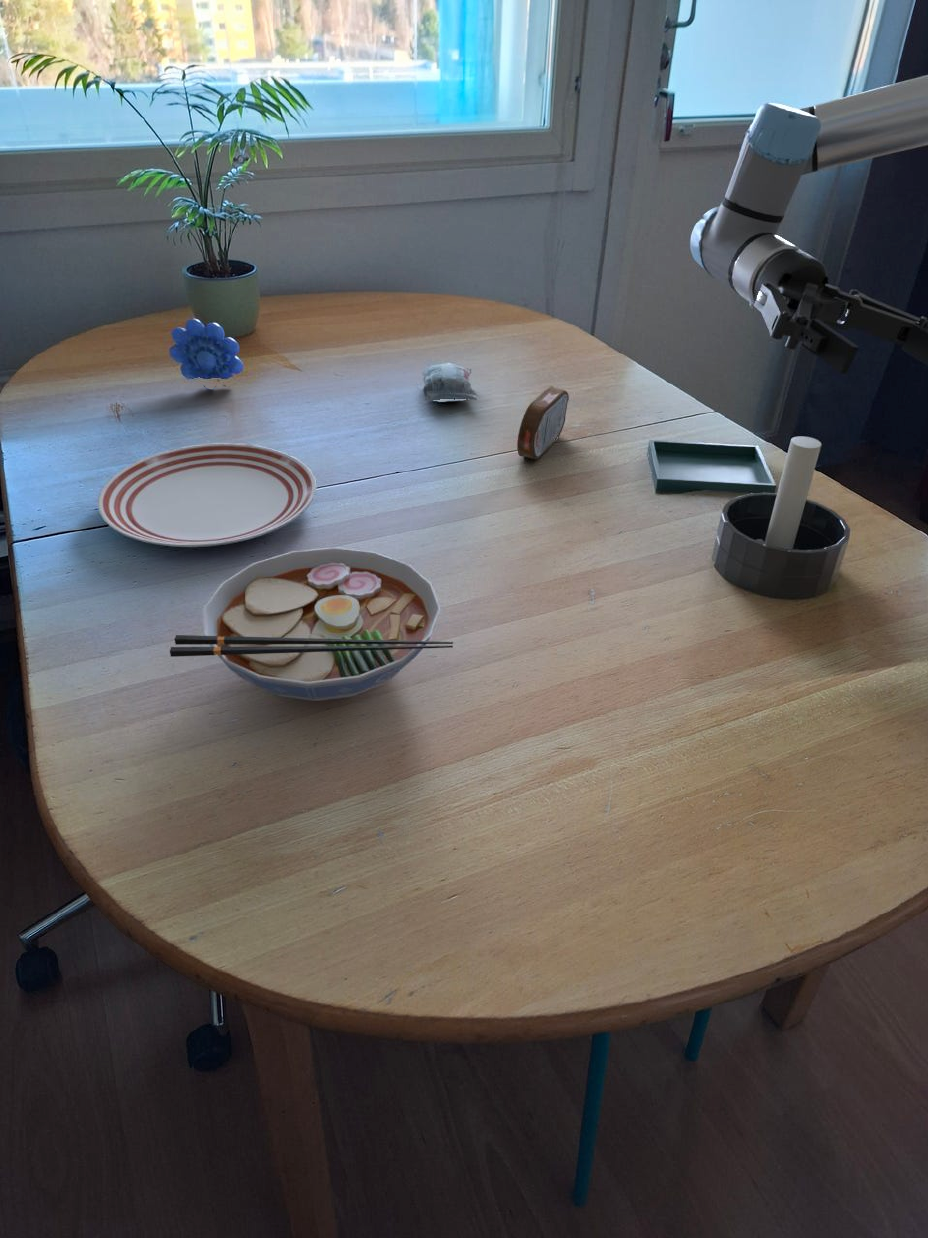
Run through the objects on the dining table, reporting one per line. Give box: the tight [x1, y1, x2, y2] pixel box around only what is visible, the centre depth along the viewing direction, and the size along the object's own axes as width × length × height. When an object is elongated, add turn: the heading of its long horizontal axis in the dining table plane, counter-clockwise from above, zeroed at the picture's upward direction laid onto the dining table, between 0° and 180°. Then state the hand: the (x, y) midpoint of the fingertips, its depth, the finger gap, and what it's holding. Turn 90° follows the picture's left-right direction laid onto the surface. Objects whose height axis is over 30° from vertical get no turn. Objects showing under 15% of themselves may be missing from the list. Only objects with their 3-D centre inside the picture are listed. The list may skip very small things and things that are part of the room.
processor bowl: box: [711, 492, 851, 601], centre depth 103 cm, size 14×14×7 cm
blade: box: [756, 435, 822, 549], centre depth 100 cm, size 9×9×16 cm
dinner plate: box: [97, 442, 318, 548], centre depth 114 cm, size 27×27×3 cm
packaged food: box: [422, 362, 478, 403], centre depth 148 cm, size 9×12×5 cm
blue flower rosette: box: [168, 317, 244, 380], centre depth 145 cm, size 12×7×12 cm, turn 102°
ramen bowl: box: [169, 546, 454, 702], centre depth 86 cm, size 25×23×8 cm
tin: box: [516, 385, 570, 460], centre depth 130 cm, size 15×3×8 cm, turn 155°
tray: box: [647, 439, 778, 495], centre depth 126 cm, size 16×13×2 cm
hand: (903, 362), depth 86 cm, fingers open, 13 cm apart
